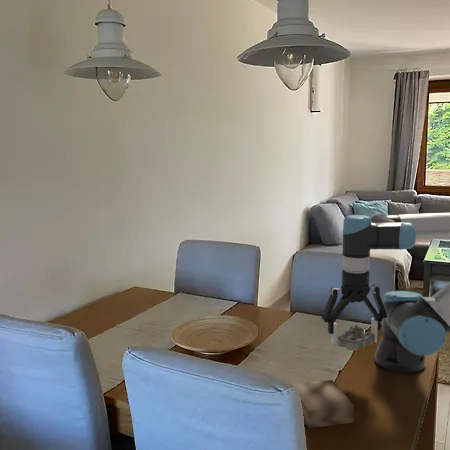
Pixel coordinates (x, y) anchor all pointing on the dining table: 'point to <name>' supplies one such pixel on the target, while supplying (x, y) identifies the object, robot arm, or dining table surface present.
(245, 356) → the dining table surface
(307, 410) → the tan flat block
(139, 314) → the dining table surface
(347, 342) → the egg carton
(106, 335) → the dining table surface
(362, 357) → the dining table surface
